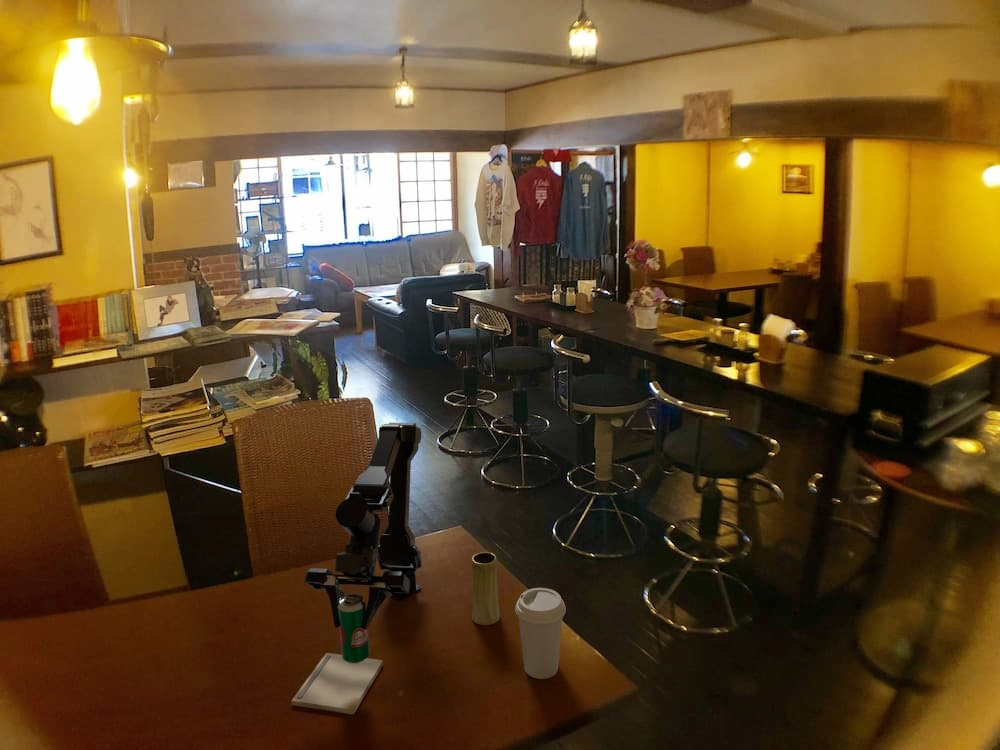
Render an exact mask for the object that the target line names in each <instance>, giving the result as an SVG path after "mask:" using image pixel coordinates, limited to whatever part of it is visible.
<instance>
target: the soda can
mask: <svg viewBox="0 0 1000 750" xmlns="http://www.w3.org/2000/svg"><path fill="white" fill-rule="evenodd" d="M366 604H367V603H366V600H365V598H364V596H363V595H362V594H359V593H355V592H352V593H346V594H344V596H342V597H341V598H340V599H339V603H338V606H337V609H338V620H339V627H338V629H339V638H340V649H341V655H342V658H343V659H344V660H345V661H346V662H348V663H352V664H356V663H360V662H362V661H364V660H365V659H366V658H368V657H369V655H370V653H371V651H370V638H369V630H368V628H369V627H368V628H367V630H364V629H363V624H364V617H365V613H366V608H367V605H366Z"/></svg>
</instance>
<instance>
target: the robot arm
mask: <svg viewBox="0 0 1000 750" xmlns="http://www.w3.org/2000/svg"><path fill="white" fill-rule="evenodd" d="M421 441H422V429H421V427H419V426H417V423H416V422H388V423H383V424H381V425H380V426H379V429H378V438H377V441H376V444H375V447H374V449H373V453H372V455H371V459H370V461H369V464H368V467H367V469H366V470H364V472H362V473H360V474H359V475H358V476H357V479H356V480H355V482H354V485H353V486H352V487H351V488H350V490H349V492H348V494H347V496H346V497H345V499H344V500H343V501H342V502H341V503H340V504H339V505H338V506H337V508H336V510H335V519H336V521H337V523H338V524H339V525H340V526H341V527H342V528H343V529H344V530H345V531H346V532H347V534H349V538H348V544H346V545H345V548H344V551H342V552H338V553H336V554H335V560H334V561H335V562H334V564H335V565H334V573H333V572H332V571H331V570H330V569H329V568H315V567H313V568H312V567H310V568H309V569H308V570H307V571H306V573H305V576H304V580H303V583H304V584H306V586H308V587H310V588H311V589H313V590H318V591H321V590H322V591H324V592H325V593H327V595H328V599H329V602H330V607H331V613H332V617H333V618H332V619H333V620H332V621H333V625H334V628H335V629H339V620H338V609H337V606H338V603H339V599H340V598H341V597H342V596H344V595H345V592H344V591H343V590H342V586H355V587H357V586H358V587H368V600H367V603H366V604H367V605H366V613H365V617H364V624H363V629H364V630H367V628H369V626H370V624H371V622H372V621H373V619H374V617H375V615H376V613H377V611H378V610H379V609H380V607H381V606H382V605H383V603H384V601H385V600H386V599H387V598H391V597H394V598H395V599H397V600H403V599H405V598H407V597H409V596H411V595H413V594H414V593H418V592H419V591H421V590H422V586H420V585H419V584H417V579H416V577H417V576H416V572H417V571H418V569H420V568H422V566H423V565H422V553H421V550H420V549H419V548H418V546H417V545H416V537H415V535H414V533H413V531H412V529H411V528H410V526H409V523H410V498H411V497H410V496H411V495H410V493H411V491H410V490H411V468H412V465H411V464H412V460H413V459H414V457H416V454H417V453H418V451H419V445H420V444H421ZM387 510H388V518H387V519H388V520H387V521H388V523H387V524H388V525H387V527H386V529H385V531H384V532H383V534H381V533H382V531H381V530H382V527H383V523H382V519H381V518H380V517H379V514H378V513H375V512H374V511H380V512H384V511H387ZM377 562H378V565H379V569H380V571H383V574H382V576H381V575H376V573H375V572H376V565H377ZM384 570H385V571H384ZM335 573H343V574H335Z"/></svg>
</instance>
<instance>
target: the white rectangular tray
mask: <svg viewBox="0 0 1000 750" xmlns="http://www.w3.org/2000/svg"><path fill="white" fill-rule="evenodd" d="M383 666H384V661H383V660H381V659H376V658H368V657H367V658H366V659H365V660H364V661H362V662H360V663H356V664H352V663H348V662H346V661H345V660H344V659H343V658H342V654H338V653H330V652H326V653H325V654H324V656H323V657H322V658H321V660H320V661H319V662H318V664H317V665H316V666H315V668H314V669H313V671H312V672H311V673H310V675H309V676H308V677H307V678H306V680H305V681H304V683H303V684H302V685H301V687H300V688H299V690H298V691H297V692H296V694H295V695H294V697H293V698H292V700H291V705H292V706H294V707H295V706H296V707H300V708H301V707H303V708H310V709H315V710H321V711H327V712H334V713H342V714H348V715H355V713H356V711H357V709H358V708H359V706H360V704H361V703H362V701H363V699H364V697H365V696H366V694H367V692H368V691H369V690H370V688H371V686H372V684H373V683H374V681H375V679H376V677H377V676H378V674H379V672H381V669H382V668H383Z"/></svg>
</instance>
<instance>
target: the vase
mask: <svg viewBox="0 0 1000 750" xmlns="http://www.w3.org/2000/svg"><path fill="white" fill-rule="evenodd" d="M497 566H498V564H497V556H496V555H495V554H494V553H493V552H489V551H480V552H478V553H475V554H473V555H472V557H471V582H472V583H471V587H472V588H471V589H472V614H471V615H472V616H471V619H472V621H473V622H474V623H475V624H478V625H480V626H489V625H491V626H492V625H493V624H496V623H497V622H499V621H500V618H501V614H500V605H499V593H498V592H499V587H498V568H497Z"/></svg>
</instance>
